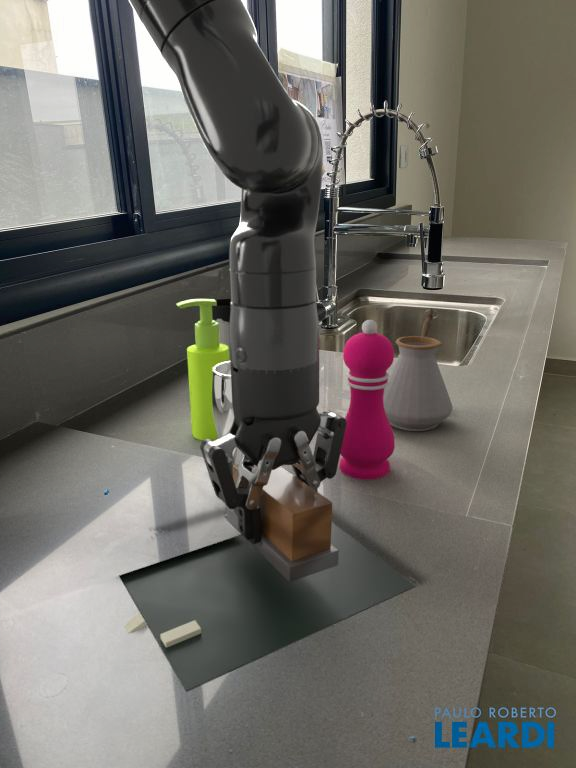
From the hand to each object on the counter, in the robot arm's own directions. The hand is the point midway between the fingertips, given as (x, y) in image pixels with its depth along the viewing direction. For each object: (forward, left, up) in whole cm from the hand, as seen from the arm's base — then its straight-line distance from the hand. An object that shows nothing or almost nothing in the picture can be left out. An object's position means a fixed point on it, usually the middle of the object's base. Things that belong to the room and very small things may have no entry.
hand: (278, 529), depth 56 cm
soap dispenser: (+9, +35, -5) cm, 36 cm away
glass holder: (+25, +57, -5) cm, 62 cm away
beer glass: (+6, +18, -5) cm, 19 cm away
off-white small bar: (-12, -4, -4) cm, 13 cm away
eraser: (0, 0, -1) cm, 1 cm away
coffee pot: (+41, +25, -5) cm, 48 cm away
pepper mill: (+20, +12, -5) cm, 23 cm away
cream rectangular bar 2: (-15, -1, -4) cm, 15 cm away
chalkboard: (-2, +1, -5) cm, 5 cm away
